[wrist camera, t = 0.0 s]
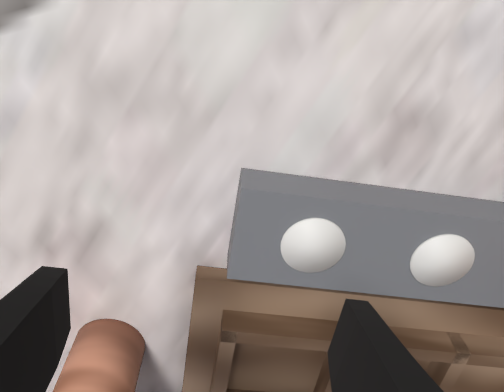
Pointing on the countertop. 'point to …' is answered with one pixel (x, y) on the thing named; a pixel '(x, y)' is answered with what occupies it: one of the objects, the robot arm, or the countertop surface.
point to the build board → (327, 337)
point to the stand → (367, 239)
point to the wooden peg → (103, 359)
